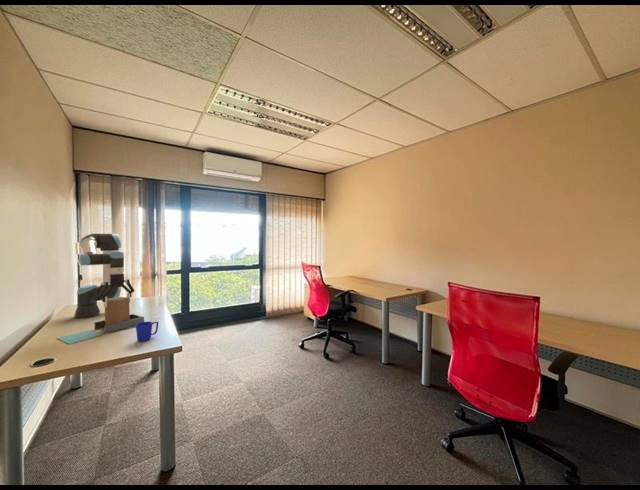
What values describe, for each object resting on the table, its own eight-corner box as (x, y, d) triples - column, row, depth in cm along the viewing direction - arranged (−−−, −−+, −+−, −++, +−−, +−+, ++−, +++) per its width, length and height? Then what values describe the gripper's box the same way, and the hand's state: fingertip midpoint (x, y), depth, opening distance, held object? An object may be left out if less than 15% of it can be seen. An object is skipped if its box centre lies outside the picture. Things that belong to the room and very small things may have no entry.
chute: (94, 329, 173) (94, 322, 173) (133, 320, 193) (133, 313, 193) (105, 334, 166) (105, 326, 166) (144, 323, 186) (144, 316, 186)
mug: (161, 337, 162) (161, 321, 162) (140, 343, 151) (140, 326, 151) (154, 334, 166) (154, 319, 166) (133, 340, 156) (133, 324, 155)
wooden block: (116, 330, 172) (116, 300, 172) (104, 329, 174) (103, 299, 174) (130, 325, 182) (130, 297, 182) (118, 324, 184) (118, 296, 184)
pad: (56, 338, 158) (56, 337, 158) (89, 330, 172) (89, 329, 172) (68, 344, 149) (68, 343, 149) (102, 335, 163) (102, 334, 163)
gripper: (97, 276, 165) (97, 309, 165) (140, 272, 187) (140, 301, 187) (91, 275, 168) (92, 307, 169) (134, 271, 190) (134, 300, 190)
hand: (117, 304), depth 178 cm, fingers open, 13 cm apart
